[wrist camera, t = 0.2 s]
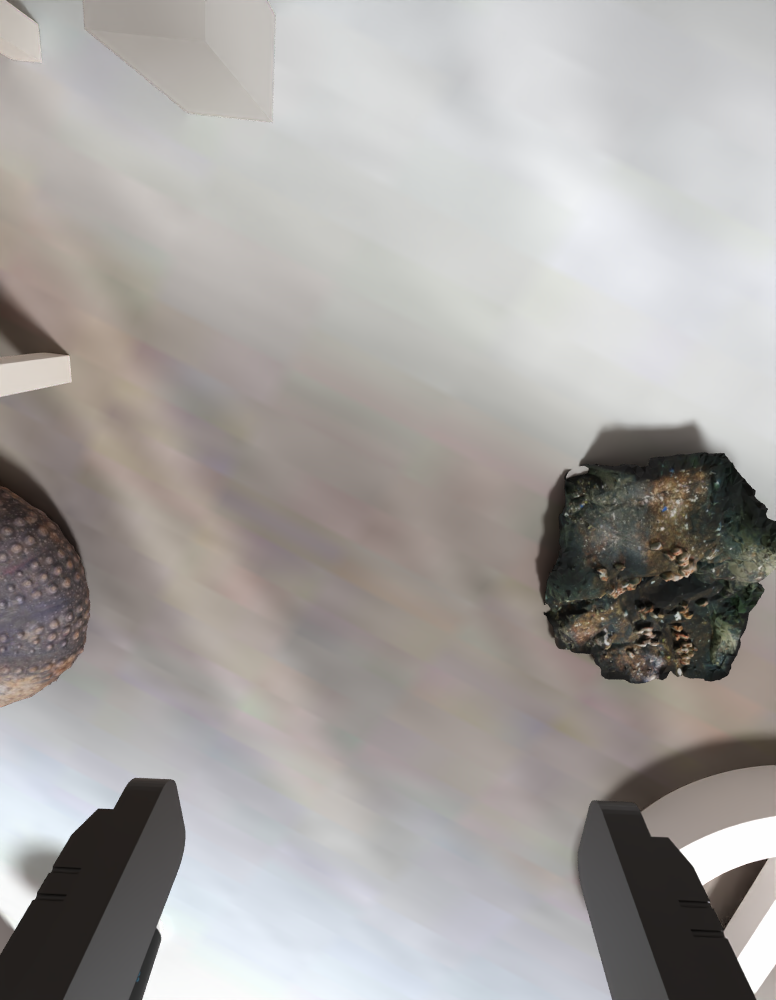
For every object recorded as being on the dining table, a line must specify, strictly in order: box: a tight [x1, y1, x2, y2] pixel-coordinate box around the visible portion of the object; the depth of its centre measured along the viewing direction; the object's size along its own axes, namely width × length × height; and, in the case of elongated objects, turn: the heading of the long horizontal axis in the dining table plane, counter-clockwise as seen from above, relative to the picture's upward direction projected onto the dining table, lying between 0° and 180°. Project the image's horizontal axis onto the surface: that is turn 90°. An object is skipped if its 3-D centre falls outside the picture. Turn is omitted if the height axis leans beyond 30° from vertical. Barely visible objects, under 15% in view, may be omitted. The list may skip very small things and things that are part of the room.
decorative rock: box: [544, 452, 776, 684], centre depth 37 cm, size 19×6×15 cm
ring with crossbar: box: [641, 765, 776, 1000], centre depth 46 cm, size 28×28×5 cm
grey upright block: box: [83, 0, 276, 123], centre depth 26 cm, size 5×5×10 cm
